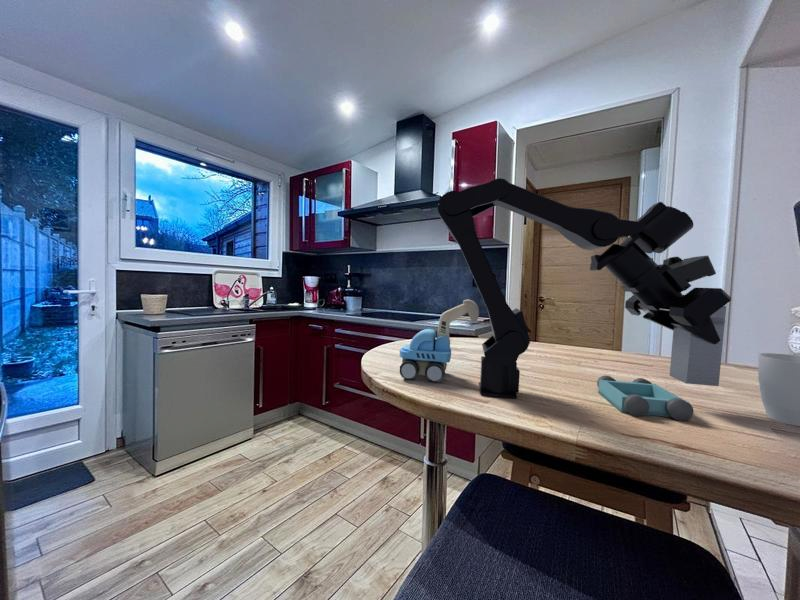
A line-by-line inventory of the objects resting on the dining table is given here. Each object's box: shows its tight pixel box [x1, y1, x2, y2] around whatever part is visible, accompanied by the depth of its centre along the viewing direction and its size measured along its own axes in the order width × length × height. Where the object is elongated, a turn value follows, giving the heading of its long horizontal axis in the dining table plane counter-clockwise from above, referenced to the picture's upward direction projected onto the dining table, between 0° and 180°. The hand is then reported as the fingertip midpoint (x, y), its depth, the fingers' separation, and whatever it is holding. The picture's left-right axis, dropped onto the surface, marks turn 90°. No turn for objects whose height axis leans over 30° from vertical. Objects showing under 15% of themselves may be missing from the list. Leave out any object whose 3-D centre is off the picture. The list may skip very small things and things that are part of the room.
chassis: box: [596, 374, 694, 422], centre depth 56 cm, size 10×12×3 cm
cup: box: [757, 352, 800, 427], centre depth 51 cm, size 8×8×10 cm
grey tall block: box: [669, 305, 727, 387], centre depth 54 cm, size 4×4×13 cm
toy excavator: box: [399, 299, 480, 384], centre depth 69 cm, size 9×17×17 cm, turn 78°
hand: (706, 339), depth 54 cm, fingers closed on grey tall block, 4 cm apart
